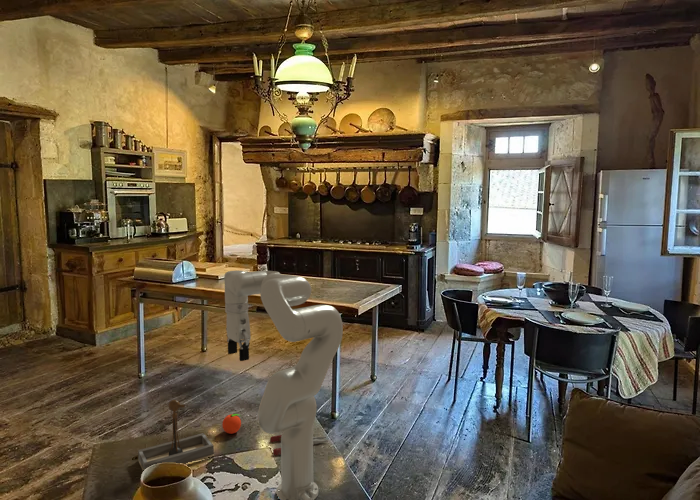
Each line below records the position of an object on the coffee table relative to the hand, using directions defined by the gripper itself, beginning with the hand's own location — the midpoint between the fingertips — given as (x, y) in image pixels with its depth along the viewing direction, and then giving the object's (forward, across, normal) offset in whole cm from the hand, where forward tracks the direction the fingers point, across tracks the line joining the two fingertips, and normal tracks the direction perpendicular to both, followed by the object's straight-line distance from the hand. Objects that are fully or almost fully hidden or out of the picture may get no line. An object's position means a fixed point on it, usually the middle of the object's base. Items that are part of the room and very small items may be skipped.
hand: (238, 356), depth 168 cm
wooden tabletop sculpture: (+33, +8, +19) cm, 39 cm away
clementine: (+34, +16, -4) cm, 38 cm away
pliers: (+35, -8, -18) cm, 40 cm away
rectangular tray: (+34, +9, +20) cm, 40 cm away
